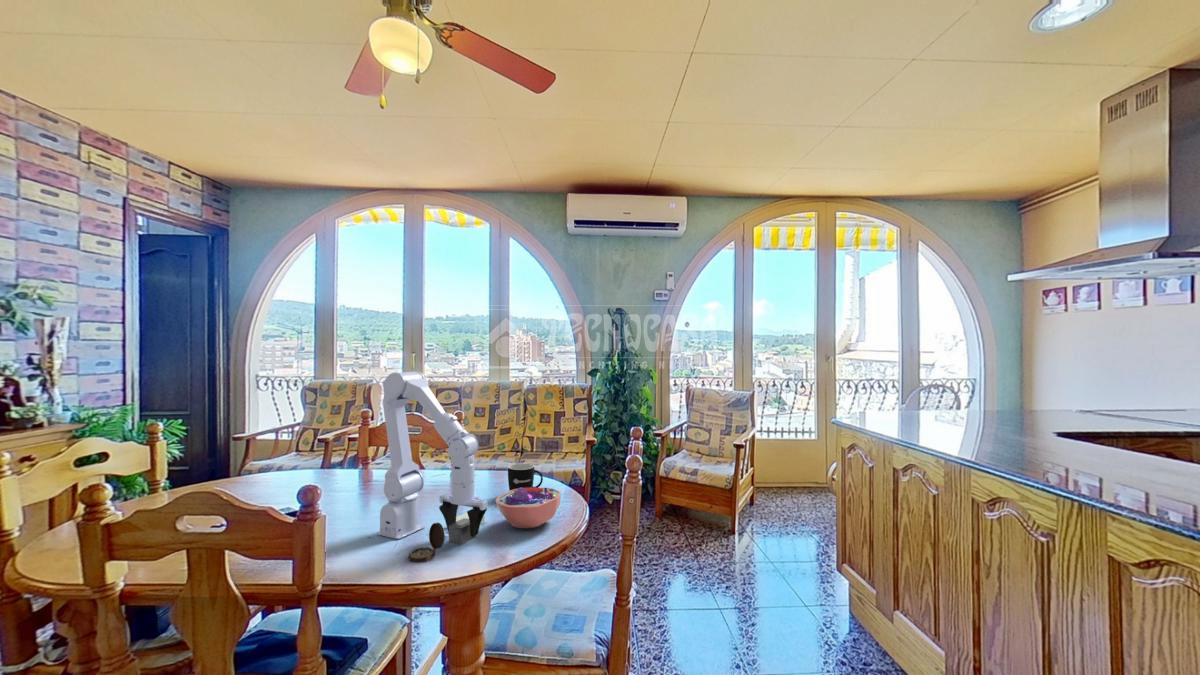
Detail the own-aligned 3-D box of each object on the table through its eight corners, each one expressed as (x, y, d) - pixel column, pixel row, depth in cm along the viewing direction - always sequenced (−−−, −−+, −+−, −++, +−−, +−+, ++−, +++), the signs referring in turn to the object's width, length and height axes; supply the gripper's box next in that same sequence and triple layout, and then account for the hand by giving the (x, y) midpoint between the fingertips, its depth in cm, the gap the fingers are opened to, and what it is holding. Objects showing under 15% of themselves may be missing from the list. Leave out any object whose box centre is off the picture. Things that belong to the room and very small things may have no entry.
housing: (461, 545, 125) (461, 526, 125) (448, 543, 127) (448, 524, 127) (476, 537, 131) (476, 519, 131) (463, 534, 132) (464, 517, 132)
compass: (403, 557, 118) (403, 527, 118) (433, 547, 124) (433, 519, 124) (419, 567, 113) (419, 536, 113) (450, 557, 118) (450, 527, 119)
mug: (508, 501, 161) (508, 470, 161) (506, 493, 170) (506, 463, 170) (544, 498, 164) (544, 468, 164) (540, 490, 173) (541, 462, 173)
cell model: (574, 522, 142) (575, 483, 142) (520, 543, 127) (521, 499, 127) (537, 509, 153) (537, 473, 153) (483, 526, 138) (483, 486, 138)
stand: (466, 531, 134) (466, 524, 135) (448, 527, 137) (448, 520, 137) (484, 521, 142) (484, 515, 142) (466, 518, 144) (466, 512, 145)
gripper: (494, 480, 130) (494, 532, 129) (452, 474, 136) (451, 523, 135) (477, 488, 123) (477, 541, 123) (434, 481, 129) (433, 532, 129)
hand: (462, 532), depth 129 cm, fingers open, 7 cm apart
